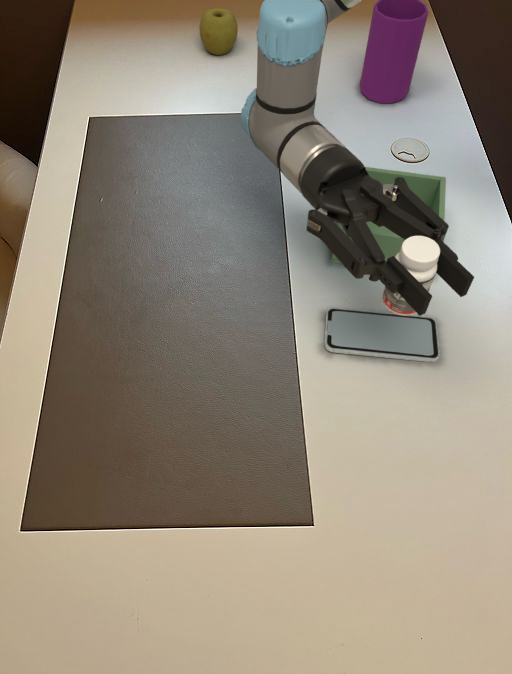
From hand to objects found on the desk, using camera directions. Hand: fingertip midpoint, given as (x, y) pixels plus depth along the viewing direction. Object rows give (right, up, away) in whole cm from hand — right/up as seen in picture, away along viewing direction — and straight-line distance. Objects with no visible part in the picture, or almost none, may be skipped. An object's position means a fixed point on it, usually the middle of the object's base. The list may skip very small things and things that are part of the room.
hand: (446, 296), depth 65 cm
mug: (+8, +49, +55) cm, 74 cm away
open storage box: (+1, +14, +31) cm, 34 cm away
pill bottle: (-2, 0, +8) cm, 8 cm away
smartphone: (-2, -3, +20) cm, 20 cm away
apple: (-24, +59, +62) cm, 89 cm away
